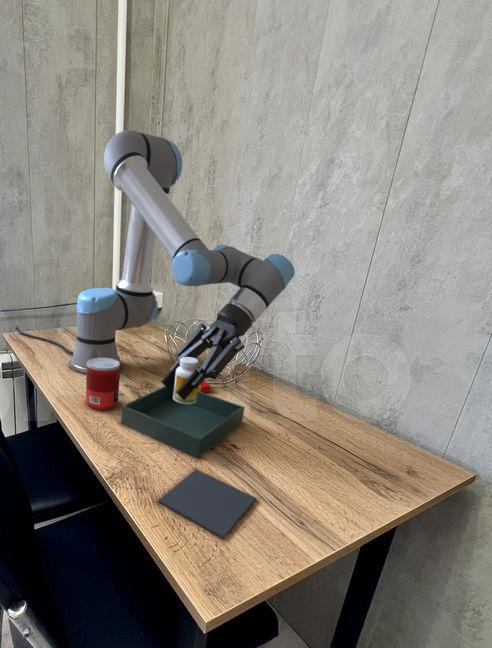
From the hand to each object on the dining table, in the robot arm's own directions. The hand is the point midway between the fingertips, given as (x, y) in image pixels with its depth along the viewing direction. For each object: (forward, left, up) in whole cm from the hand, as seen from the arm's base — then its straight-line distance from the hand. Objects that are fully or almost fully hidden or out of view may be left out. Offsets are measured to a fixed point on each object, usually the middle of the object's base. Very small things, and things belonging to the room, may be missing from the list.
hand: (172, 390), depth 88 cm
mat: (+20, -17, -9) cm, 27 cm away
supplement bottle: (+1, +3, -3) cm, 5 cm away
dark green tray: (+2, +3, -9) cm, 10 cm away
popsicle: (-8, +19, -9) cm, 23 cm away
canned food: (-18, -3, -9) cm, 21 cm away
